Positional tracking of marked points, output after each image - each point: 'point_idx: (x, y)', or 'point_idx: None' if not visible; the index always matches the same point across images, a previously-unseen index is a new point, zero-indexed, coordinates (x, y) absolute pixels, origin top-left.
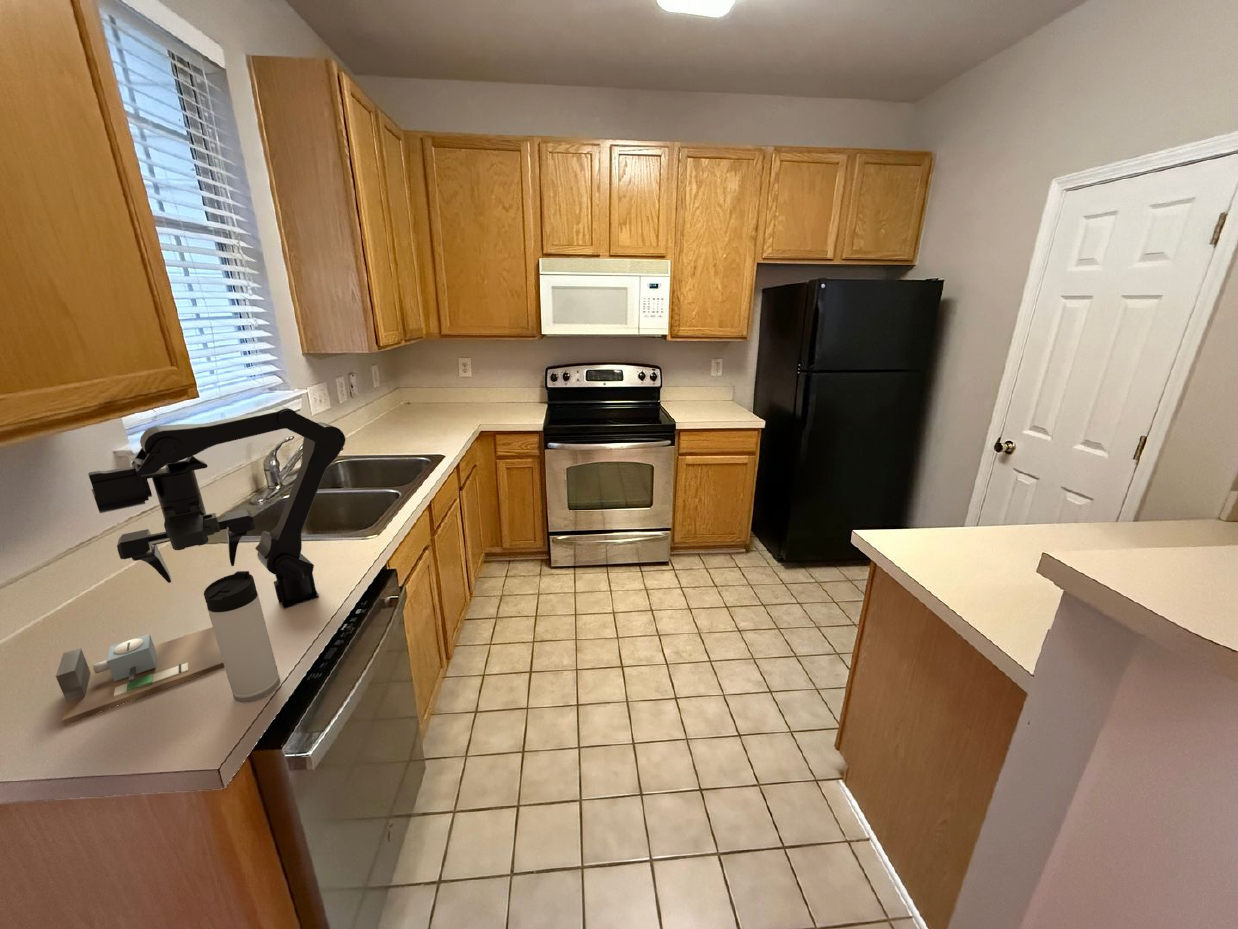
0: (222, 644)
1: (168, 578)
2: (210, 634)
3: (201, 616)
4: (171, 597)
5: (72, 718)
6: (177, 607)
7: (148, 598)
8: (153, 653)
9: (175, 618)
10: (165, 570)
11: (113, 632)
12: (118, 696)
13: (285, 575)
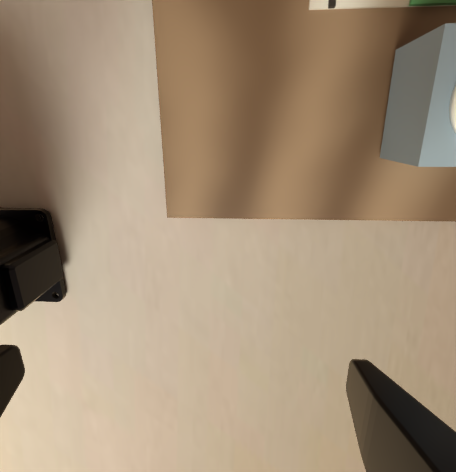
0: None
1: (372, 381)
2: (236, 172)
3: (254, 325)
4: (307, 464)
5: None
6: (300, 409)
7: None
8: (400, 102)
9: (309, 358)
10: (417, 448)
11: (435, 385)
12: None
13: None
